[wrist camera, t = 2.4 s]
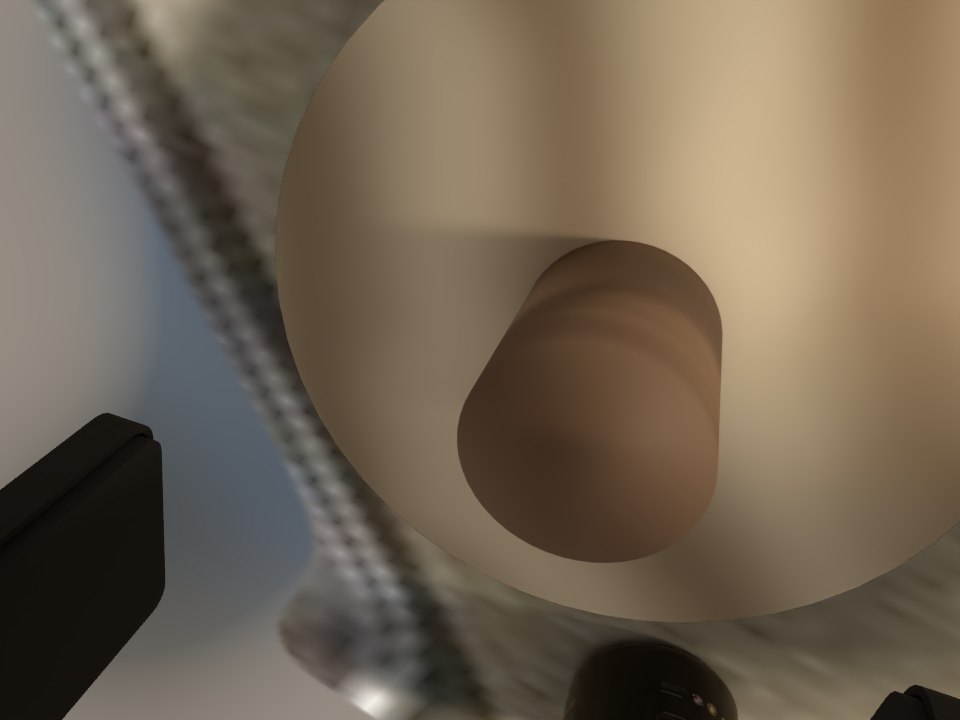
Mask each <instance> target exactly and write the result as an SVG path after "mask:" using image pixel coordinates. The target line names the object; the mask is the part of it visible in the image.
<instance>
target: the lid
mask: <svg viewBox="0 0 960 720" xmlns="http://www.w3.org/2000/svg"><path fill="white" fill-rule="evenodd" d="M275 263H276V274H277V285H278V296H279V303H280V308H281V312H282V317H283V321H284V326H285V331H286V335H287V340H288V343H289V346H290V349H291V352H292V355H293V358H294V360H295V363H296V366H297V369H298V372H299V375H300V378H301V380H302V382H303V384H304V386H305V389H306V391H307V393H308V395H309V397H310V399H311V401H312V403H313V405H314V407H315V410H316V412H317V414H318V416H319V417H320V419H321V420H322V422H323V424H324V425H325V427H326V428H327V430H328V432H329V433H330V435H331V437H332V438H333V440H334V441H335V443H336V445H337V446H338V448H339V449H340V450H341V452H342V453H343V454H344V456H345V457H346V458H347V460H348V461H349V462H350V463H351V465H352V466H353V467H354V469H355V470H356V471H357V472H358V474H359V475H360V476H361V478H362V479H363V480H364V481H365V482H366V483H367V484H368V485H369V486H370V487H371V488H372V489H373V490H374V492H375V493H376V494H377V495H378V496H379V497H380V498H381V499H382V500H383V501H384V502H385V503H386V504H387V505H388V506H389V507H390V508H391V509H392V510H393V511H394V512H396V513H397V514H398V515H399V516H400V517H401V518H403V519H404V520H405V521H406V522H407V523H408V524H409V525H411V526H412V527H413V528H414V529H415V530H416V531H418V532H419V533H420V534H422V535H423V536H424V537H426V538H427V539H429V540H430V541H431V542H433V543H434V544H436V545H437V546H439V547H440V548H441V549H443V550H444V551H446V552H447V553H448V554H450V555H451V556H453V557H455V558H457V559H458V560H460V561H462V562H464V563H465V564H467V565H469V566H471V567H472V568H474V569H476V570H477V571H479V572H481V573H483V574H484V575H486V576H489V577H491V578H493V579H495V580H497V581H500V582H502V583H504V584H506V585H508V586H511V587H513V588H515V589H517V590H519V591H522V592H524V593H527V594H530V595H533V596H536V597H539V598H542V599H545V600H548V601H550V602H553V603H556V604H559V605H563V606H567V607H571V608H575V609H579V610H583V611H587V612H591V613H595V614H599V615H606V616H612V617H619V618H626V619H633V620H640V621H656V622H676V623H693V622H714V621H730V620H737V619H743V618H750V617H757V616H764V615H771V614H775V613H778V612H782V611H786V610H790V609H794V608H798V607H802V606H806V605H810V604H814V603H817V602H819V601H822V600H825V599H827V598H830V597H833V596H835V595H838V594H841V593H843V592H846V591H849V590H851V589H854V588H857V587H859V586H861V585H863V584H865V583H867V582H869V581H871V580H873V579H874V578H876V577H878V576H880V575H882V574H884V573H886V572H888V571H890V570H892V569H894V568H896V567H898V566H900V565H901V564H903V563H904V562H906V561H907V560H909V559H910V558H912V557H913V556H915V555H916V554H918V553H919V552H921V551H922V550H924V549H925V548H927V547H928V546H930V545H931V544H933V543H934V542H936V541H937V540H939V539H940V538H941V537H942V536H943V535H944V534H945V533H947V532H948V531H949V530H950V529H951V528H952V527H954V526H955V525H956V524H957V523H958V522H959V521H960V1H959V0H384V1H383V2H382V3H381V4H380V5H379V6H378V7H377V8H376V9H375V10H374V11H373V12H372V14H371V15H370V16H369V17H368V18H367V19H366V20H365V22H364V23H363V24H362V25H361V26H360V27H359V28H358V30H357V31H356V32H355V33H354V34H353V35H352V36H351V37H350V39H349V40H348V41H347V42H346V43H345V44H344V46H343V47H342V49H341V51H340V52H339V54H338V55H337V57H336V58H335V60H334V61H333V63H332V64H331V66H330V67H329V69H328V70H327V72H326V74H325V75H324V77H323V78H322V80H321V81H320V83H319V84H318V86H317V88H316V90H315V92H314V94H313V97H312V99H311V101H310V103H309V105H308V107H307V109H306V112H305V114H304V116H303V118H302V120H301V122H300V124H299V126H298V129H297V132H296V135H295V138H294V141H293V145H292V148H291V151H290V154H289V158H288V161H287V164H286V167H285V171H284V175H283V181H282V187H281V193H280V199H279V205H278V211H277V219H276V248H275Z"/></svg>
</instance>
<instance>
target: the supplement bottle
mask: <svg viewBox="0 0 960 720" xmlns="http://www.w3.org/2000/svg"><path fill="white" fill-rule="evenodd" d="M563 720H738V713H737V707H736V704H735V701H734V699H733V697H732V694H731V693H730V691H729V689H728V688H727V686H726V685H725V683H724V682H723V681H722V680H721V678H720V677H719V676H718V675H717V674H716V673H715V672H714V671H712V670H711V669H710V668H709V667H708V666H706V665H705V664H704V663H702V662H701V661H699V660H698V659H696V658H694V657H692V656H690V655H688V654H686V653H684V652H682V651H679V650H676V649H673V648H670V647H667V646H662V645H657V644H650V643H626V644H619V645H615V646H611V647H608V648H606V649H603V650H601V651H599V652H597V653H595V654H594V655H592V656H591V657H589V658H588V659H587V660H586V661H585V662H584V663H583V664H582V665H581V666H580V667H579V669H578V670H577V672H576V673H575V675H574V677H573V680H572V683H571V686H570V689H569V694H568V698H567V703H566V707H565V712H564V717H563Z"/></svg>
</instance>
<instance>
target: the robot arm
mask: <svg viewBox="0 0 960 720" xmlns="http://www.w3.org/2000/svg"><path fill="white" fill-rule="evenodd" d="M164 588H165V555H164V520H163V485H162V451H161V445H160V444H159V442H157V441H155V440H153V434H152V431H151V429H150V428H149V427H147V426H145V425H143V424H139V423H137V422H134V421H131V420H128V419H125V418H122V417H119V416H116V415H113V414H110V413H104V414H101V415H99V416H97V417H95V418H94V419H93V420H91V421H90V422H89V423H87V424H86V425H85V426H84V427H82V428H81V429H80V430H78V431H77V432H76V433H74V434H73V435H72V436H70V437H69V438H68V439H66V440H65V441H64V442H63V443H61V444H60V445H59V446H57V447H56V448H55V449H53V450H52V451H51V452H49V453H48V454H47V455H46V456H44V457H43V458H42V459H40V460H39V461H38V462H36V463H35V464H34V465H32V466H31V467H30V468H28V469H27V470H26V471H24V472H23V473H22V474H21V475H19V476H18V477H17V478H15V479H14V480H13V481H11V482H10V483H9V484H7V485H6V486H5V487H4V488H2V489H1V490H0V720H62V719H63V718H64V717H65V715H66V714H67V713H68V712H69V711H70V710H71V708H72V707H73V706H74V705H75V704H76V702H77V701H78V700H79V699H80V698H81V697H82V695H83V694H84V693H85V692H86V691H87V689H88V688H89V687H90V686H91V685H92V683H93V682H94V681H95V680H96V679H97V678H98V676H99V675H100V674H101V673H102V671H103V670H104V669H105V668H106V667H107V666H108V664H109V663H110V662H111V661H112V660H113V659H114V657H115V656H116V655H117V654H118V653H119V651H120V650H121V649H122V647H124V645H125V644H126V643H127V642H128V641H129V640H130V638H131V637H132V636H133V635H134V634H135V632H136V631H137V630H138V629H139V628H140V626H141V625H142V624H143V623H144V622H145V620H146V619H147V618H148V617H149V616H150V615H151V613H152V612H153V611H154V610H155V608H156V607H157V605H158V603H159V601H160V600H161V597H162V595H163V591H164ZM870 720H960V699H958V698H955V697H952V696H949V695H946V694H943V693H940V692H937V691H934V690H931V689H928V688H925V687H922V686H919V685H913V686H911V687H909V688H908V689H907V690H906V691H905V692H904V693H903V694H902V693H899V692H896V691H894V692H892V693H890V694H889V695H888V696H887V697H886V699H885V700H884V701H883V703H882V704H881V706H880V707H879V708H878V710H877V711H876V712H875V714H874V715H873V717H872V718H871V719H870Z"/></svg>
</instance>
